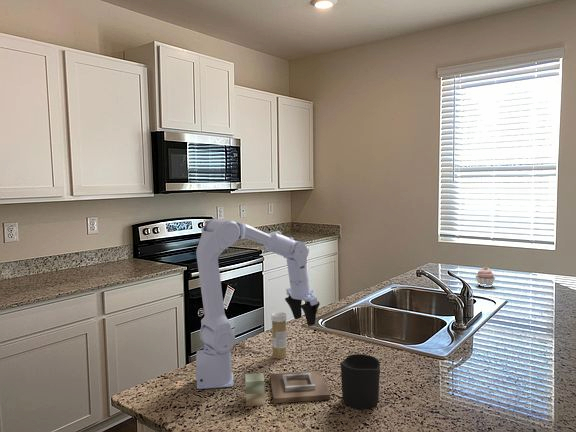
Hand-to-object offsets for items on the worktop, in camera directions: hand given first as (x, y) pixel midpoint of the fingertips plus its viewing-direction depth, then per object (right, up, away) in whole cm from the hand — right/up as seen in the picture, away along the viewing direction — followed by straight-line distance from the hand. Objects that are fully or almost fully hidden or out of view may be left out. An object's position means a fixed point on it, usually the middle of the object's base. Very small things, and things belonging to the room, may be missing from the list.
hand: (304, 321), depth 138 cm
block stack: (-13, -13, -27) cm, 33 cm away
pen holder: (+13, -13, -28) cm, 34 cm away
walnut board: (-2, -12, -21) cm, 24 cm away
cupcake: (+93, -3, +85) cm, 126 cm away
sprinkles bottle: (-8, -11, +1) cm, 14 cm away
